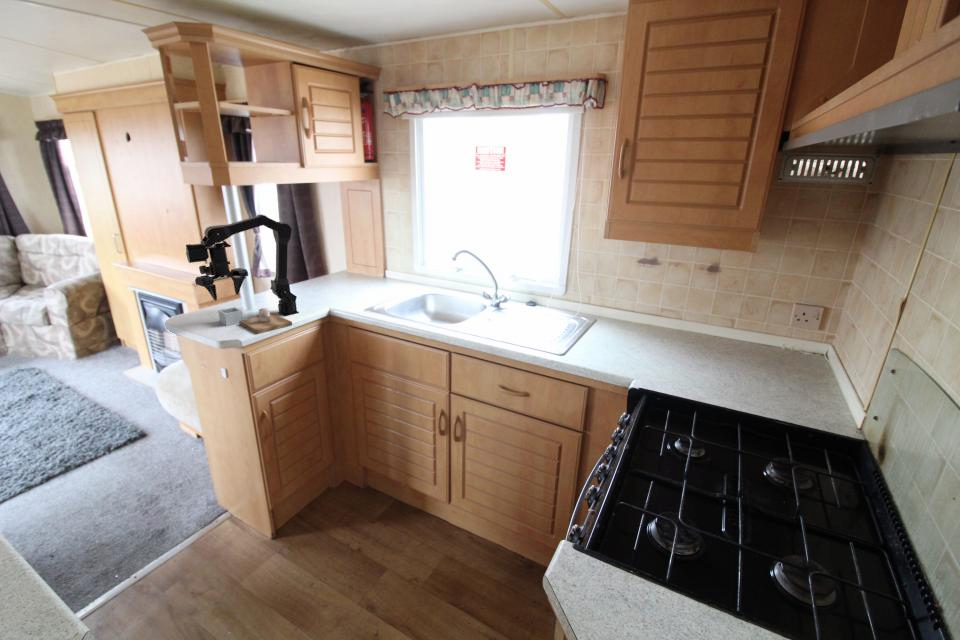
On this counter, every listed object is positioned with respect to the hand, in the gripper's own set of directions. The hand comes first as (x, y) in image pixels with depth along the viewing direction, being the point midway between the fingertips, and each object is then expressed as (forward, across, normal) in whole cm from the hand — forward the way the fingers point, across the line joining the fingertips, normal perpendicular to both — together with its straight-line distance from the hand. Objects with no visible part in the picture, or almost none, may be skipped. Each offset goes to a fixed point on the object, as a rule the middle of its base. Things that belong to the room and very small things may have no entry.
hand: (226, 297), depth 182 cm
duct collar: (+11, -1, -1) cm, 11 cm away
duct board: (+11, -6, +13) cm, 18 cm away
